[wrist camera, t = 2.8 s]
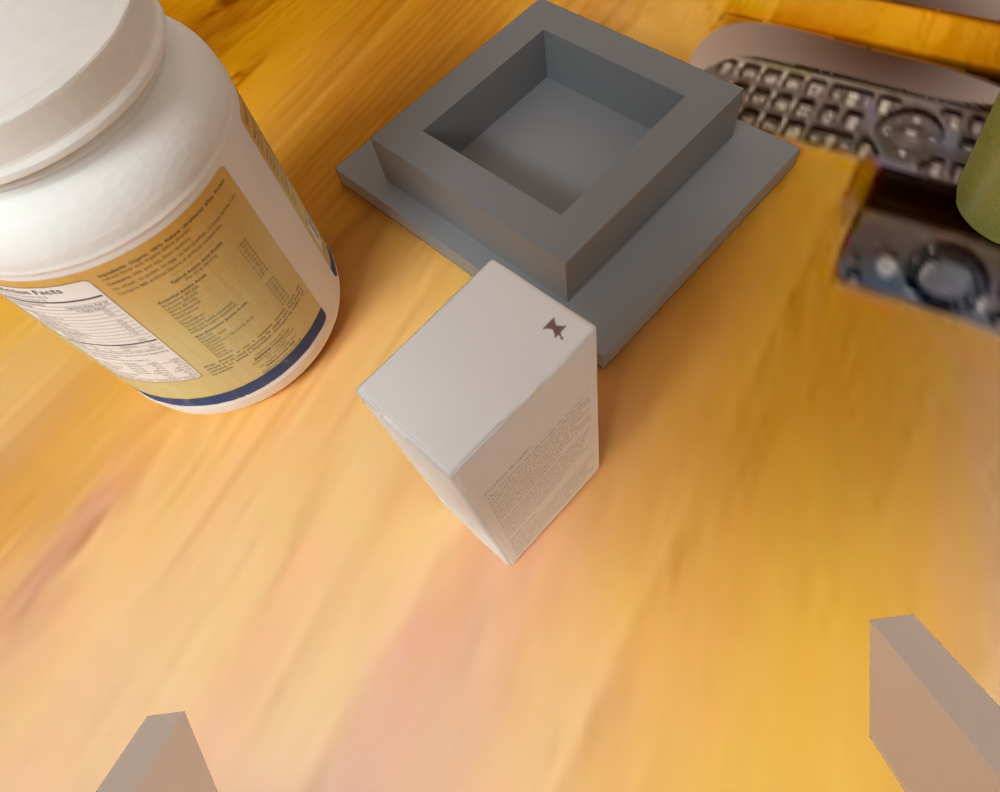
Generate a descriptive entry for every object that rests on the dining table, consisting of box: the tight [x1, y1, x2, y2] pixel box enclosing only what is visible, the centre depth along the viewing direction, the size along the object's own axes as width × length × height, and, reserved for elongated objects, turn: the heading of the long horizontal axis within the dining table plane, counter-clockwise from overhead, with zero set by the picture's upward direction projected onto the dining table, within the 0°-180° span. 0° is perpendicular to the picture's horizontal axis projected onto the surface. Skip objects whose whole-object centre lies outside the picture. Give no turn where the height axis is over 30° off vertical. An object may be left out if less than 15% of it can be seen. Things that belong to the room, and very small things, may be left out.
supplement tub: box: [0, 0, 340, 414], centre depth 28 cm, size 12×12×17 cm
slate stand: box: [335, 0, 800, 369], centre depth 35 cm, size 20×16×4 cm
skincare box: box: [357, 260, 599, 566], centre depth 23 cm, size 6×4×12 cm
